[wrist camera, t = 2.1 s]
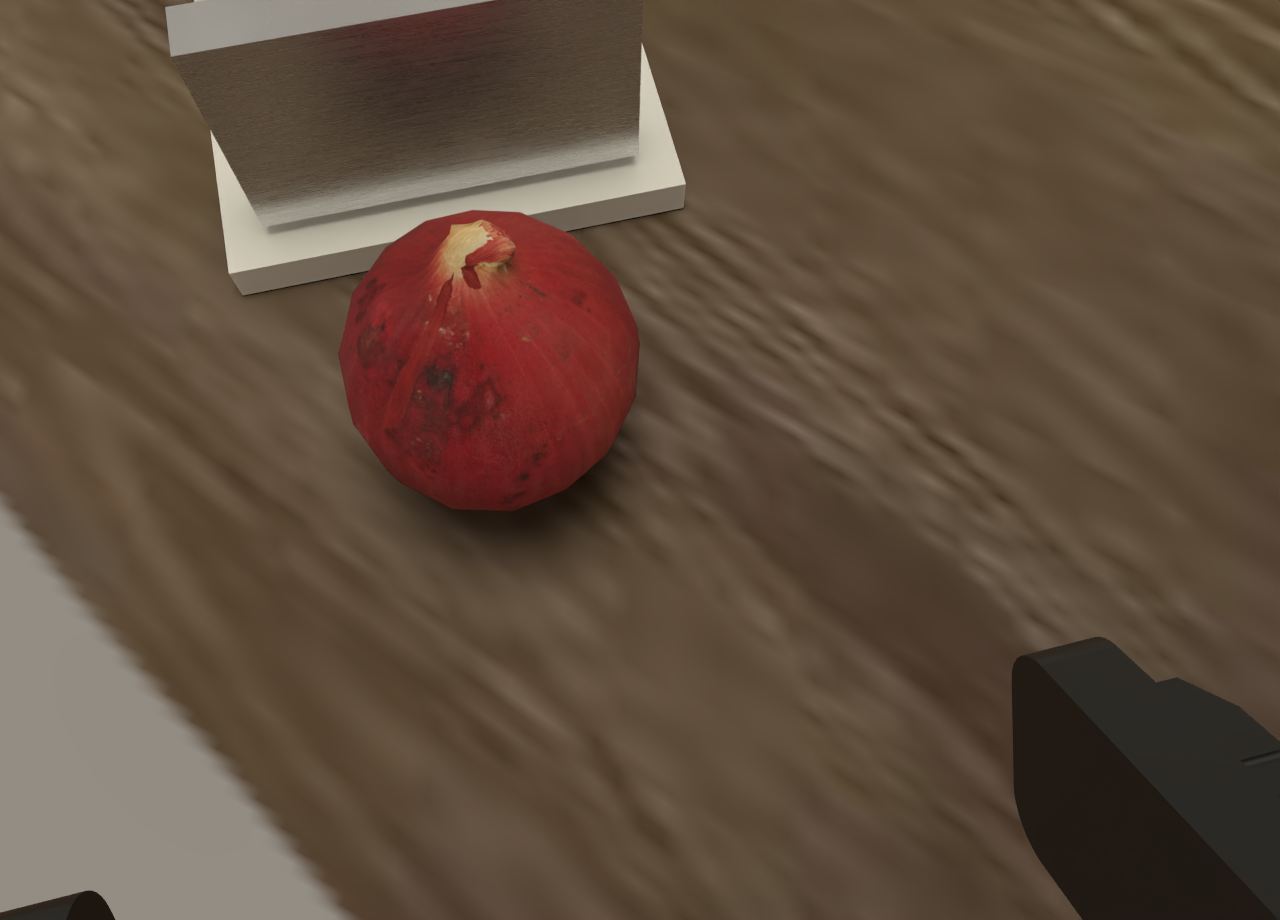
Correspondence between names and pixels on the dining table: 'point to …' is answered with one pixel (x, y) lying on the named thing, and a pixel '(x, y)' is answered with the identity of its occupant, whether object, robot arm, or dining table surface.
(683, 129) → the dining table surface
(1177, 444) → the dining table surface
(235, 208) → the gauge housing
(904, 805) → the dining table surface
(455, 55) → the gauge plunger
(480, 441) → the red pomegranate
